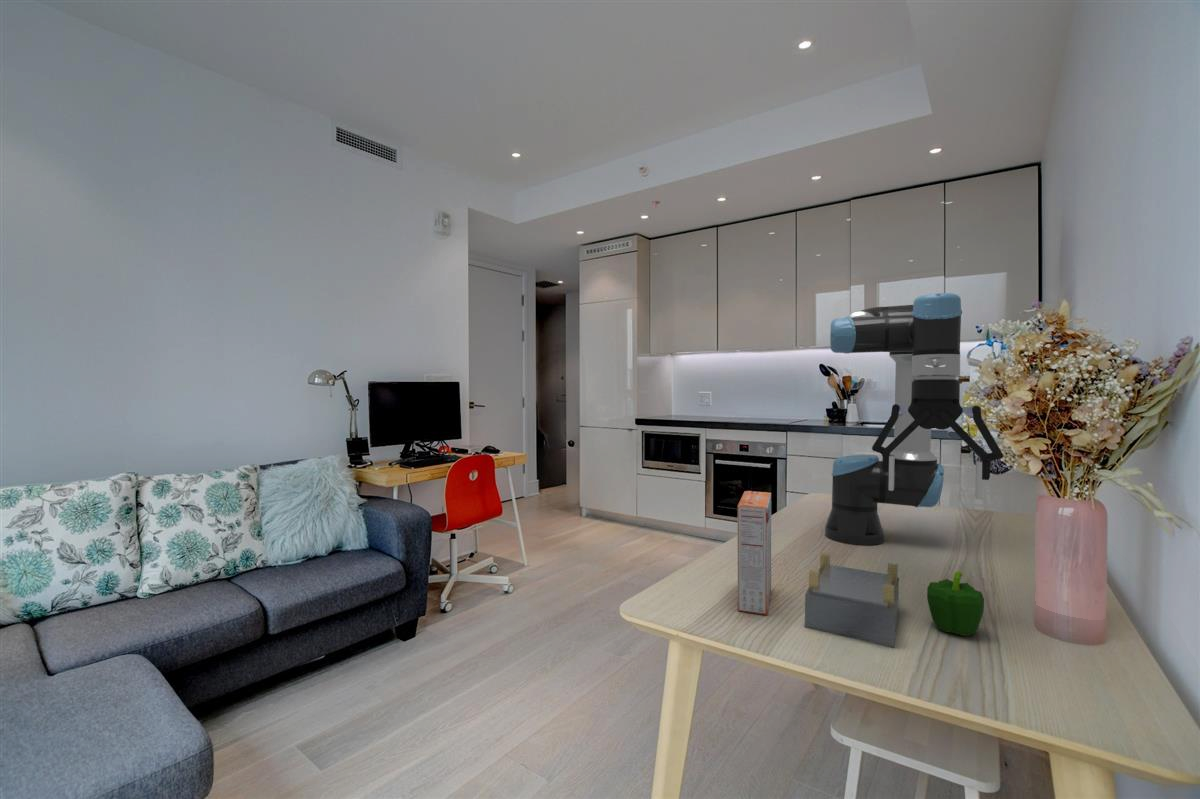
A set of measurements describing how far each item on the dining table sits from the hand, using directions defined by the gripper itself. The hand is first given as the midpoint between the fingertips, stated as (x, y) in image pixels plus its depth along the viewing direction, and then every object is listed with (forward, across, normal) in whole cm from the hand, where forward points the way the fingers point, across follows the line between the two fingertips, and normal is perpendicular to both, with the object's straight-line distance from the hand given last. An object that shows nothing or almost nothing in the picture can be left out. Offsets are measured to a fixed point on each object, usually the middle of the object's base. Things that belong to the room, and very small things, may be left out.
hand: (933, 493), depth 97 cm
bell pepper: (+24, +4, -2) cm, 24 cm away
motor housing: (+24, -12, -5) cm, 27 cm away
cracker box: (+24, -30, -9) cm, 39 cm away
